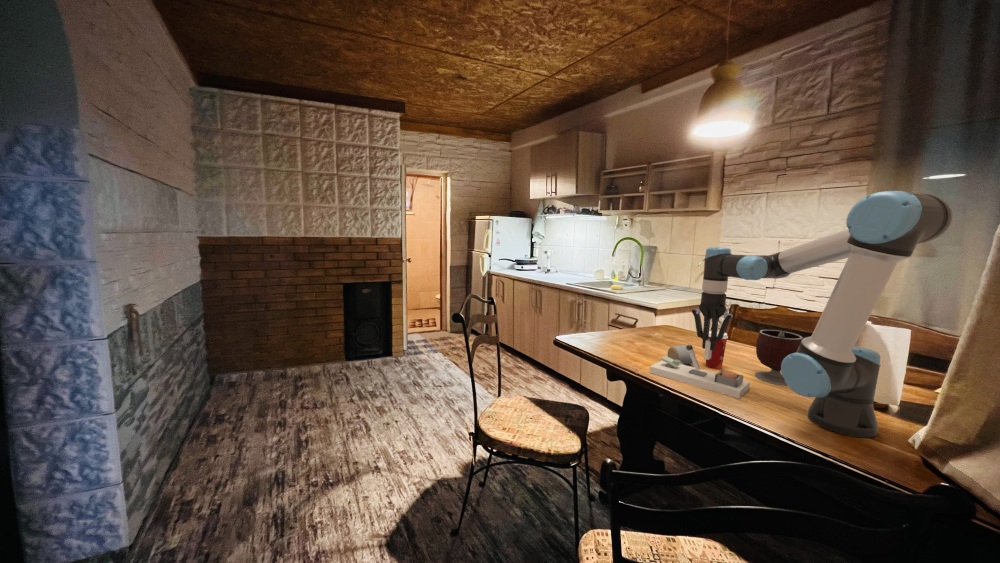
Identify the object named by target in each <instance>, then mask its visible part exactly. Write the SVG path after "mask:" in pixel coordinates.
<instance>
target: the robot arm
mask: <svg viewBox="0 0 1000 563" xmlns="http://www.w3.org/2000/svg"><path fill="white" fill-rule="evenodd" d="M845 222H846V228H847V229H844V230H842V231H837V232H836V233H832V234H829V235H826V236H824V237H821V238H820V237H819V238H818V239H814V240H811V241H808V242H805V243H803V244H800V245H797V246H794V247H790V248H788V249H783V250H782V251H779V252H776V253H772V254H769V255H767V254H766V255H765V254H764V255H758V254H755V255H753V254H751V255H750V254H732V250H731V248H730V247H717V246H716V247H715V246H714V247H713V246H710V247H707V248H706V249H705V256H704V260H703V262H704V265H703V277H702V286H701V289H702V290H701V291H702V292H701V296H700V304H699V306H698V307H697V308H695V309H692V310H691V313H692V315H693V317H694V323H695V330H696V335H697V336H696V337H698V338H700V339H701V340H702V346H701V348H702V349H704V355H703V359H704V360H706V359H707V360H709V359H711V354H712V351H713V350H715V345H716V341H720V340H722V338H723V336H724V333H726V332H727V328H728V325H729V323H730V321H731V320H732V319H733V317H734V314H732V313H729V312H728V311H727V307H726V299H727V294H726V293H727V291H728V290H727V289H728V282H729V278H735V279H742V280H745V281H759V280H762V279H775V280H776V279H777V280H778V279H782V278H786V277H789V276H790V275H791V274H793V273H797V272H800V271H801V272H802V271H804V270H808V269H812V268H816V267H819V266H824V265H826V264H830V263H834V262H837V261H842V260H845V259H846V261H845V264H844V266H843V268H842V269H841V273H840V274H839V277H838V278H837V280H836V283H835V285H834V287H833V289H832V291H831V294H830V295H829V298H828V300H827V302H826V305H825V307H824V309H823V311H822V312H821V314H820V317H819V320H818V321H817V323H816V326H815V327H814V330H813V332H812V334H811V336H807V337H803V338H802V341H801V343H800V345H799V347H798V350H797V352H796V353H792V354H790V355H788V356H786V357H785V358H784V359H783V361H782V364H781V371H780V373H781V374H782V377H784V379H785V382H786V384H787V385H788V386H787V387H788V388H789V389H791V390H792V391H793V392H794V393H796V394H797V395H799V396H802V397H805V398H814V399H813V401H812V402H811V404H810V406H809V407H808V410H807V411H808V412H807V418H808V420H810V421H811V422H812V423H814V424H816V425H817V426H819V427H821V428H824V429H826V430H828V431H831V432H834V433H837V434H840V435H841V434H842V435H845V436H849V437H856V438H866V439H867V438H874V437H876V436H877V435H878V431H879V424H878V423H879V422H878V420H877V415H876V412H875V408H874V400H875V395H876V389H877V385H878V384H877V383H878V378H879V373H880V369H881V368H880V367H881V355H880V354H879V352H877V351H875V350H873V349H870V348H866V347H863V346H858V345H856V344H857V341H858V340H859V338H860V336H861V334H862V332H863V330H864V328H865V326H866V324H867V322H868V320H869V318H870V317H871V315H872V314H873V313H872V312H873V311H874V309H875V307H876V306H877V303H878V302H879V300H880V297H881V295H882V293H883V292H884V289H885V288H886V286H887V284H888V282H889V280H890V278H891V276H892V274H893V272H894V270H895V269H896V266H897V265H898V263H899V262H902V261H904V260H908V259H909V258H911V257H912V255H913V253H914V251H915V249H916V247H917V245H920V244H924V243H928V242H932V241H934V240H936V239H938V238H940V237H941V236H942V235H943V234H944V233H946V231H947V230H948V229H949V228H950V226H951V224H952V222H953V211H952V208H951V206H950V205H949V204H948V203H947V201H945V200H944V199H942V198H940V197H938V196H936V195H933V194H927V193H919V192H917V193H916V192H908V191H903V190H888V191H886V190H884V191H878V192H875V193H871V194H868V195H867V196H863V197H862V198H861V199H860V200H858V201H857V202H856V203H855V204H854V205H853V206H852V207H851V208H850V210H849V212H848V214H847V216H846V221H845ZM701 314H702V315H703V322H702V319H701ZM721 317H723V320H722V324H721V326H720V328H719V330H718V327H719V320H720V319H721ZM702 323H703V324H702ZM710 326H711V328H710ZM710 329H711V330H710ZM709 331H711V340H709V339H708V338H709ZM717 331H719V333H718V336H717Z"/></svg>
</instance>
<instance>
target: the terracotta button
mask: <svg viewBox="0 0 1000 563" xmlns="http://www.w3.org/2000/svg"><path fill="white" fill-rule="evenodd" d="M737 374H738V373H736V372H734V371H730V370H723V371H722V376H725V377H729V378H733V379H736V378H737Z"/></svg>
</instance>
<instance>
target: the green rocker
mask: <svg viewBox="0 0 1000 563" xmlns="http://www.w3.org/2000/svg"><path fill="white" fill-rule="evenodd" d="M660 361H664V362H666V363H668V364H670V365H672V366H674V367H678V366H679V365H680V361H679V360H677V359H676V360H674V359H671V358H669V357H668V355H664V356H662V357H661V358H660Z"/></svg>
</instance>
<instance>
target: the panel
mask: <svg viewBox="0 0 1000 563" xmlns="http://www.w3.org/2000/svg"><path fill="white" fill-rule="evenodd" d="M690 366H691V365H687V364H684V365H682V364H680V365H679V366H678V367H674V366H672V365H670V364H668V363H666V362H664V361H662V360H660V361H658V362H655V363H654V364H652V365H649V374H652V373H653V375H655V374H656V375H655V376H659V377H662V378H665V379H670V380H673V381H676V382H680V383H684V384H687V385H691V386H693V387H697V388H701V389H705V390H708V391H710V392H714V393H718V394H722V395H725V396H728V397H732V398H734V399H735V398H736V399H738V400H739V399H741V398H742V396H744V395H745V394H746V393H747V392H748V391H749V390H750V385H751V383H750V381H747V380H744V375H743V374H739V373H736V374H737V378H736V379H733V378H729V377H725V376H722V371H724V370H722V369H720V371H717V372H713V371H708V370H705V369H701V368H700V370H696V369H695V367H690Z"/></svg>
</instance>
